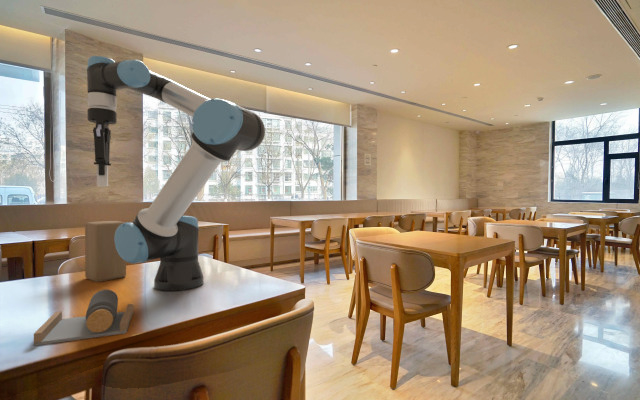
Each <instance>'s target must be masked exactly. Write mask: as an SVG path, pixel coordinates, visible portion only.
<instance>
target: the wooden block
mask: <svg viewBox="0 0 640 400" xmlns="http://www.w3.org/2000/svg"><path fill="white" fill-rule="evenodd" d="M123 223H125V222H124V221H121V220H120V221H119V220H99V221H87V222H86V223H85V225H84V260H85V261H84V265H85V266H84V270H85V271H84V277H85V278H86V279H87V280H89V281H93V282H95V283H102V282H105V281H110V280H116V279H117V278H118V279H123V278H125V277H126V276H127V262H126V261H125V260H123V259H122V258H121V257H120V255H119V254H118V252H117V250H116V247H115V241H114V237H115V232H116V230H117V228H118V227H119V226H120V225H121V224H123Z"/></svg>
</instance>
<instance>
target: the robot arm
mask: <svg viewBox="0 0 640 400" xmlns="http://www.w3.org/2000/svg"><path fill="white" fill-rule="evenodd" d="M86 72H87V73H86V77H87V78H86V79H87V80H86V81H87V84H86V85H87V97H85V101H87V107H88V109H87V120H88V121H89V122H90V123H92V124H93V123H94V124H95V126H94V127H93V129H92V132H93V139H94V140H93V142H94V143H93V145H94V162H93V165H96V186H97V187H109V166H112V163H110V152H111V139H112V137H111V135H112V132H111V131H112V130H111V129H110V128H109V125H115V124H117V118H118V117H117V116H118V115H117V112H116V111H117V110H118V107H117V106H118V105H117V104H118V101H117V100H118V99H117V96H118V95H117V90H124V89H126V90H127V89H129V90H131V91H134V92H137V93H139V94H143V95H146V96H149V97H151V98H154V99H156V100H159V101H160V102H162V103H164V104H166V105H169V106H171V107H173V108H175V109H177V111H181V112H182V113H185V114H187V115H188V116H190V117H191V120H192V124H191V128H192V133H191V135H190V138H191V142H192V144H191V146H190V147H189V148H188V150H187V152H186V153H185V154H184V155H183V157H182V159H181V160H180V161H179V163H178V165H177V166H176V168H175V169H174V170H173V171H172V173H171V175H170V176H169V178H168V180H166V182H165V183H164V185H163V187H162V188H161V189H160V191H159V192H158V194H157V195H156V197H155V198H154V200H153V202H152V203H151V204H150V206H149V207H148V208H142V209H140V210H139V211H138V212H137V214H136V216H135V218H134V219H133V220H132V221H127V222H125V223H123V224H121V225H120V226H119V227H118V228H117V230H116V232H115V237H114V241H115V247H116V250H117V252H118V254H119V255H120V257H121V258H122V259H123V260H125V261H126V263H129V264H138V263H139V264H140V263H141V264H143V263H146V262H149V261H153V260H159V259H160V260H159V265H158V268H157V271H156V274H155V277H154V280H153V288H154V289H155V290H158V291H166V292H167V291H169V292H170V291H171V292H172V291H173V292H174V291H185V290H190V289H195V288H198V287H200V286H202V285H203V284H204V278H205V277H204V273H203V271H202V268H201V265H200V261H199V230H200V228H199V220H198V218H197V217H196V216H190V215H184V214H185V213H186V212H187V210H188V208H189V207H190V206H191V204H192V203H193V202H194V200H195V198H196V197H197V196H198V194H199V193H200V192H201V190H202V189H203V188H204V187H205V185H206V184H207V182H208V181H209V179H210V178H211V176H212V175H213V174H214V173H215V171H216V170H217V168H218V167H219V165H220V164H221V163H225V162H229V161H230V160H231V159H232V158H233V156H234V154H235V153H236V152H237V151H242V152H247V151H253V150H255V149H256V148H258V147H259V146H260V145H261V144H262V143H263V140H264V139H265V135H266V127H265V124H264V121H263V119H261V117H260V116H259V115H258V114H257V113H255V112H253V111H251V110H249V109H247V108H245V107H243V106H240V105H238V104H236V103H234V101H230V100H226V99H222V98H209V97H207V96H205V95H202V94H200V93H199V92H197V91H194V90H192V89H190V88H187V87H185V86H184V85H182V84H179V83H178V82H176V81H174V80H172V79H170V78H168V77H165V76H162V75H160V74H158V73H155V72H153V71H151V70H149V68H148V66H147V65H145V63H144V62H143V61H141V60H139V59H124V60H120V61H115V60H113V59H112V58H109V57H106V56H101V55H99V56H98V55H92V56H90V57H88V59H87V68H86Z"/></svg>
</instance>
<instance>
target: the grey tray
mask: <svg viewBox="0 0 640 400" xmlns="http://www.w3.org/2000/svg"><path fill="white" fill-rule="evenodd" d="M62 313H63V312H62V311H55V312H54V313H53V314H51V316H50V317H49V318H48V319H47V320H46V321H45V322H44V323H43V324H42V325H41V326H40V327H39V328H38V329H37V330H35V332H34V333H33V346H42V345H50V344H56V343H63V342H65V343H66V342H71V341H79V340H85V339H92V338H93V339H94V338H99V337H100V338H101V337H107V336H114V335H123V334H127V332H128V329H129V326H130V324H131V321H132V317H133V315H134V303H128V304H127V306H126V307H125V311H121V312H117V315H116V317H115V319H114V321H113V323H112V325H111V326H110V327H109V328H108V329H107V330H105V331H103V332H92V331H90V330H89V329H88V327H87V324H86V315H85V316H84V315H83V316H77V317H76V316H75V317H68V318H67V317H66V318H63V317H62V316H63V315H62Z"/></svg>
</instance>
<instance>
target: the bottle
mask: <svg viewBox="0 0 640 400" xmlns="http://www.w3.org/2000/svg"><path fill="white" fill-rule="evenodd" d="M118 305H119V297H118V295H117V293H116V292H115V291H113V290H111V289H101V290H99V291H97V292H95V293H93V295H92V296H91V298H90V300H89V304H88V307H87V309H86V314H85V316H86V324H87V327H88V329H89V330H90V331H92V332H103V331H105V330H107V329H108V328H109V327H110V326H111V325H112V323H113V321H114V319H115V317H116V315H117V313H118V307H119V306H118Z"/></svg>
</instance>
